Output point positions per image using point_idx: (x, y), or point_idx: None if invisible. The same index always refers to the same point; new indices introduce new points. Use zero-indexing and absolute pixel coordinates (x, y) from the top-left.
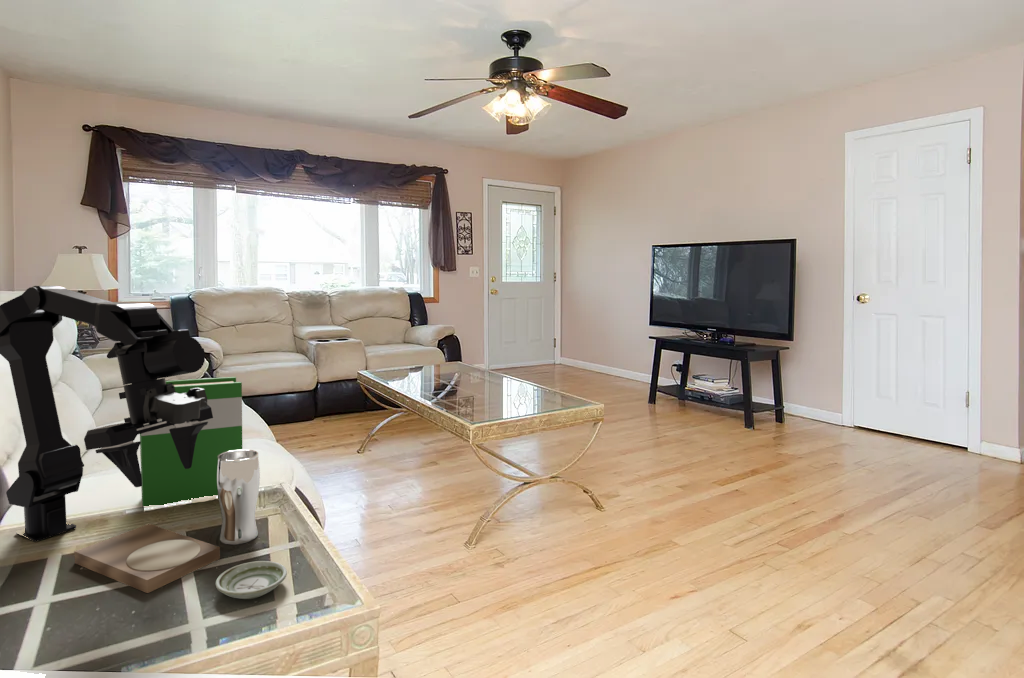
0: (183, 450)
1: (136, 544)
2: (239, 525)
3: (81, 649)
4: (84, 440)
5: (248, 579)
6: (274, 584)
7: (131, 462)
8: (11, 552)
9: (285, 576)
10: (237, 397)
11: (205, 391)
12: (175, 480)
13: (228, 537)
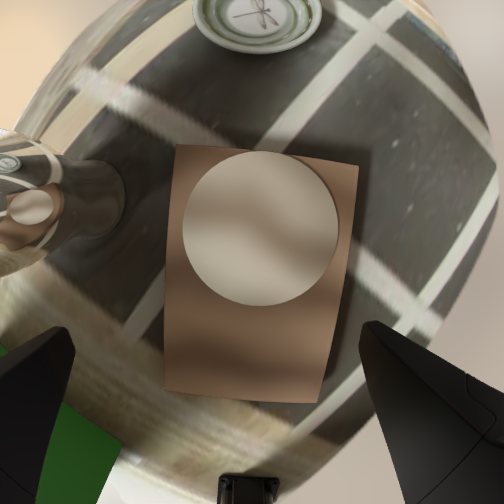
0: (27, 411)
1: (248, 333)
2: (92, 168)
3: (468, 139)
4: None
5: (242, 28)
6: None
7: (493, 389)
8: (312, 473)
9: None
10: None
11: None
12: (58, 444)
13: (117, 189)
